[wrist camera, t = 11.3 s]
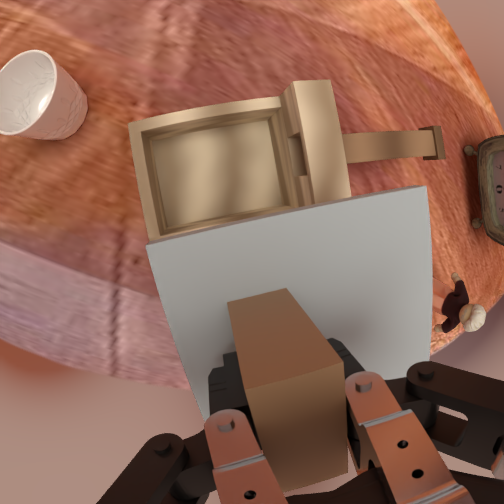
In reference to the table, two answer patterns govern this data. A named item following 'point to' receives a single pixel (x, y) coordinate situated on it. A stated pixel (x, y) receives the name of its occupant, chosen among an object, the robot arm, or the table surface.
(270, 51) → the table surface
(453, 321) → the grandmother figurine
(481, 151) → the tabletop clock
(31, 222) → the table surface
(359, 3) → the table surface
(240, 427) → the robot arm
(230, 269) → the lid
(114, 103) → the table surface
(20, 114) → the white cup
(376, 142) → the bar
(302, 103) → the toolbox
